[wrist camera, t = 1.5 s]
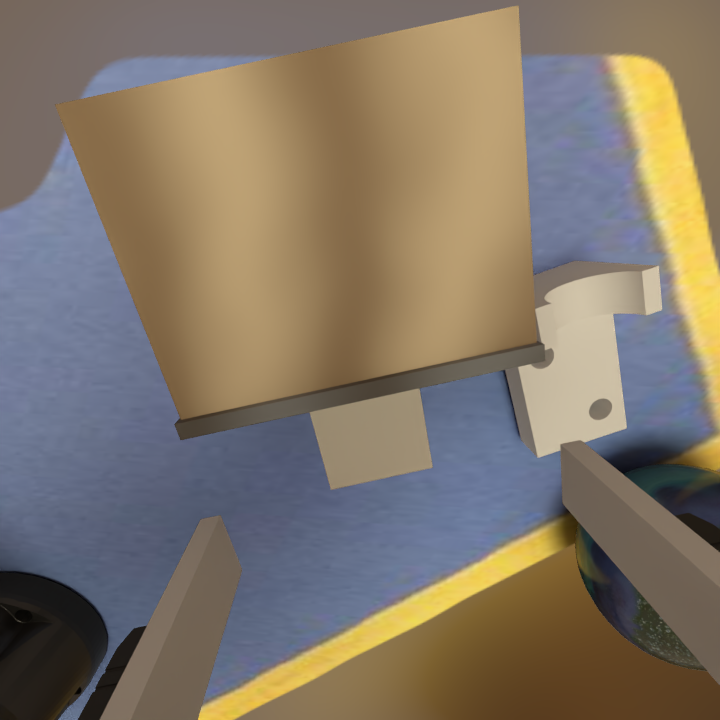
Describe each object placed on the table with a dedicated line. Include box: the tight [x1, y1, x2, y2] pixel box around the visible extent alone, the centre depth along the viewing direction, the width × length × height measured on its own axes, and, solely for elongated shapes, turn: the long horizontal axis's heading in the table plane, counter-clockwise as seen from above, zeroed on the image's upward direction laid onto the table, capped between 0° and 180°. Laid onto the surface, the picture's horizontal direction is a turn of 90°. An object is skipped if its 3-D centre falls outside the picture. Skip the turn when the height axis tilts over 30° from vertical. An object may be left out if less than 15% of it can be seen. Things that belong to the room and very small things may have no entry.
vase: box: [575, 464, 720, 671], centre depth 28 cm, size 15×15×13 cm
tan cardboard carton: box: [310, 388, 433, 490], centre depth 22 cm, size 5×10×12 cm, turn 12°
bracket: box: [505, 261, 662, 458], centre depth 26 cm, size 13×7×8 cm, turn 19°
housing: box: [55, 6, 545, 440], centre depth 18 cm, size 13×10×16 cm
